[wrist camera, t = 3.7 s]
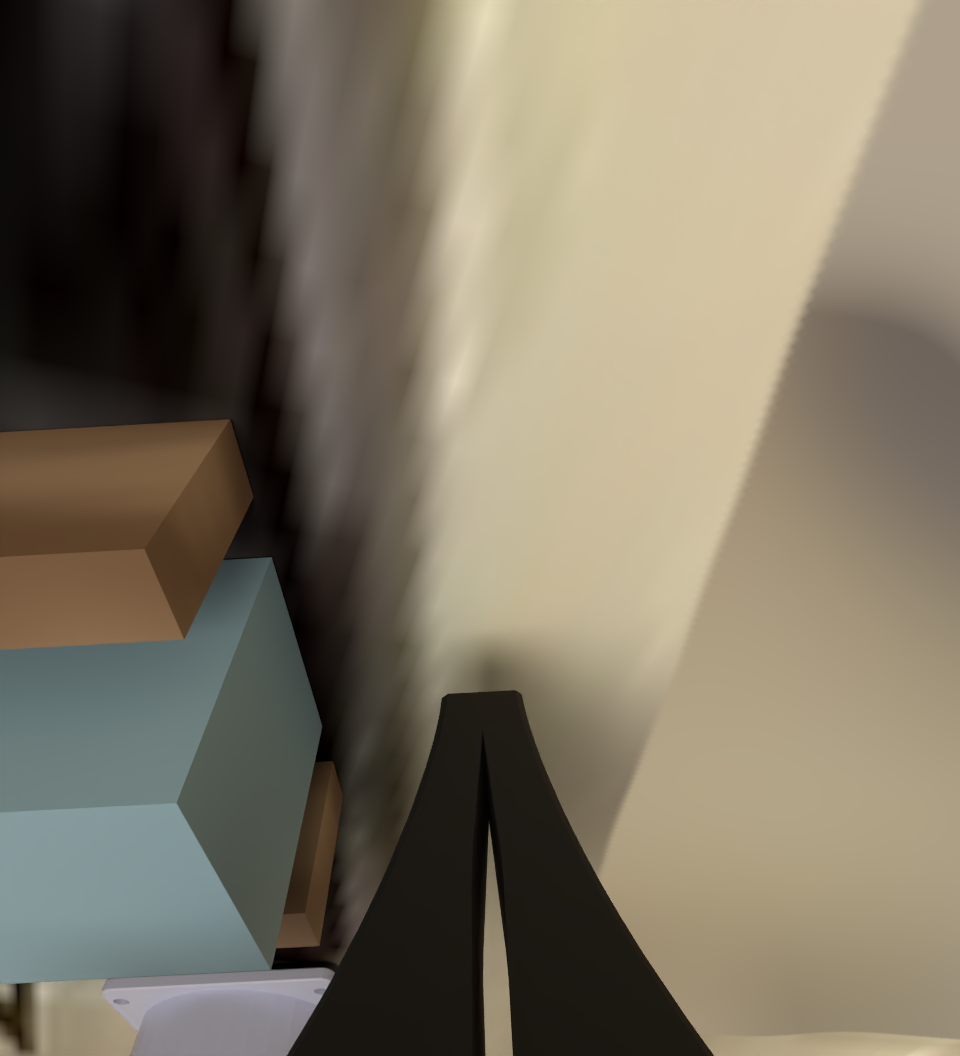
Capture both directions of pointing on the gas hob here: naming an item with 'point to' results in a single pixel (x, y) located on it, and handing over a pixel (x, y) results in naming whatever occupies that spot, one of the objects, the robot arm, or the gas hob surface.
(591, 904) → the robot arm
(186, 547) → the chute
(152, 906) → the block
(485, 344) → the gas hob surface
